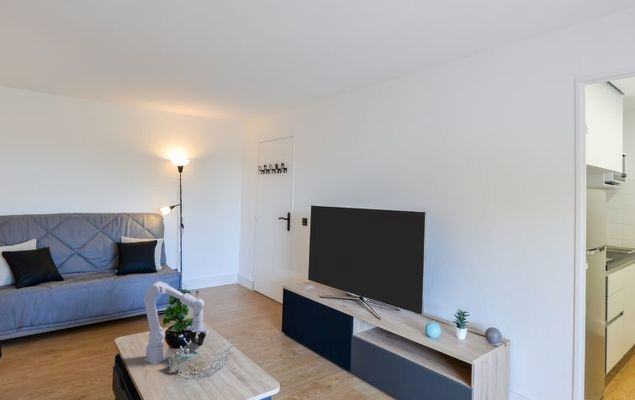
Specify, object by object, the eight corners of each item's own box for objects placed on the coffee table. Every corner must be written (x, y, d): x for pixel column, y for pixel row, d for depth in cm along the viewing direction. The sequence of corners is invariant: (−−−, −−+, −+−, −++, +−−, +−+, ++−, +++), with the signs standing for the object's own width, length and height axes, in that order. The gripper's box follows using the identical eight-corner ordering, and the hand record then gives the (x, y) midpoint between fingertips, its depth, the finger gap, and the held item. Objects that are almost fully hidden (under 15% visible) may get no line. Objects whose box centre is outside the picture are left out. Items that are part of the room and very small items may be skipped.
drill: (189, 356, 194) (188, 348, 193) (183, 355, 196) (181, 347, 195) (203, 345, 204) (202, 337, 203) (197, 344, 206) (195, 337, 205)
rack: (168, 362, 198) (168, 358, 198) (190, 352, 211) (190, 349, 211) (177, 366, 193) (177, 362, 193) (199, 355, 206) (199, 352, 206)
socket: (169, 369, 189) (169, 358, 189) (178, 365, 194) (179, 354, 194) (178, 374, 185) (179, 362, 185) (188, 369, 190) (188, 358, 190)
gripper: (183, 320, 202) (182, 344, 202) (202, 325, 196) (202, 349, 196) (191, 317, 208) (191, 339, 209) (211, 321, 203) (210, 344, 203)
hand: (197, 344), depth 203 cm, fingers closed on drill, 5 cm apart
